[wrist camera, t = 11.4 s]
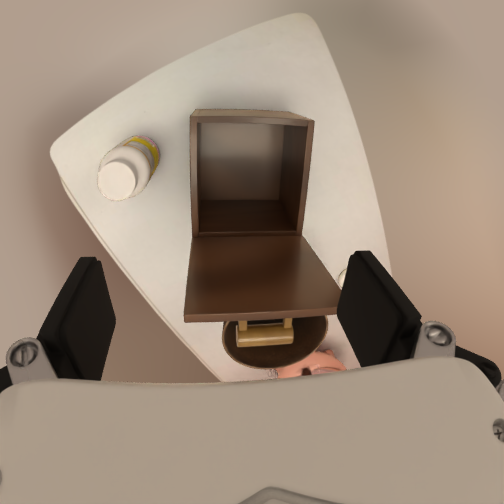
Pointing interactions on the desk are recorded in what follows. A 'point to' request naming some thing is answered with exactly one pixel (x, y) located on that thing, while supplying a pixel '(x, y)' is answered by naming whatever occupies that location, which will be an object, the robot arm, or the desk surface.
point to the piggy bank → (312, 365)
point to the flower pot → (277, 356)
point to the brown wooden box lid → (257, 285)
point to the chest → (249, 172)
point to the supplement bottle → (127, 168)
